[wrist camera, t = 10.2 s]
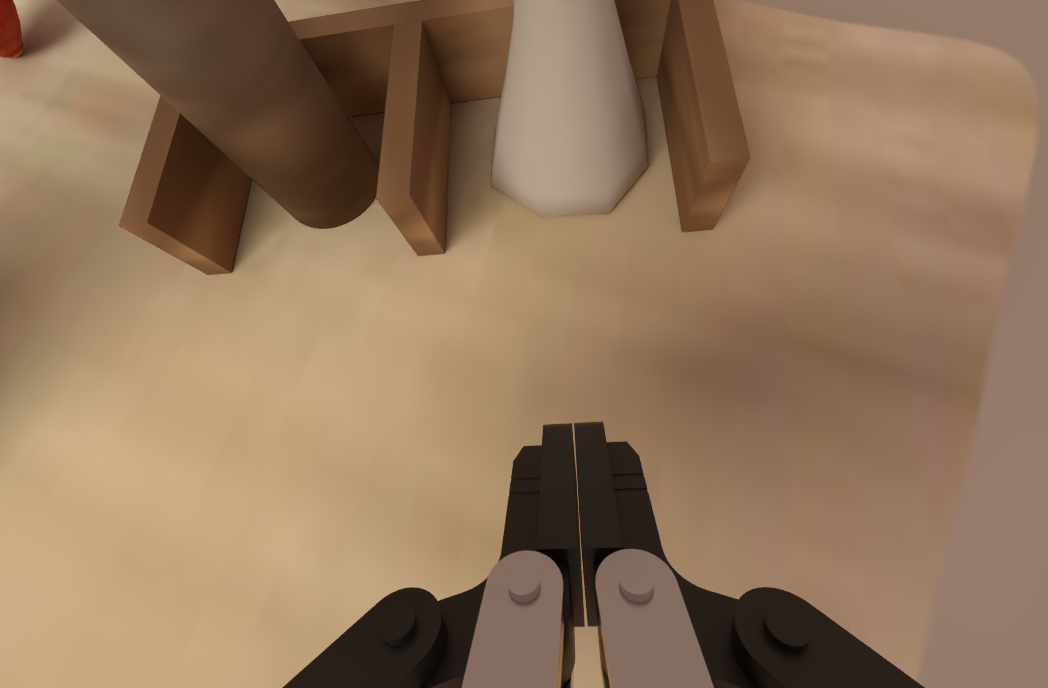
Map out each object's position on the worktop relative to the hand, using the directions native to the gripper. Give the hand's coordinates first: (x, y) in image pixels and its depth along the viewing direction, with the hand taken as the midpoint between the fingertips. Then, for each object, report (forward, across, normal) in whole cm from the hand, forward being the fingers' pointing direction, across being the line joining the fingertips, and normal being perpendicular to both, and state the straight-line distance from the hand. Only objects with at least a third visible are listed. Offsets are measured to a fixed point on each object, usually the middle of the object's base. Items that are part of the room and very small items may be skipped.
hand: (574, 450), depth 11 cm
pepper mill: (+12, +11, -6) cm, 18 cm away
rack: (+12, +5, -6) cm, 15 cm away
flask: (+13, -1, -6) cm, 14 cm away
